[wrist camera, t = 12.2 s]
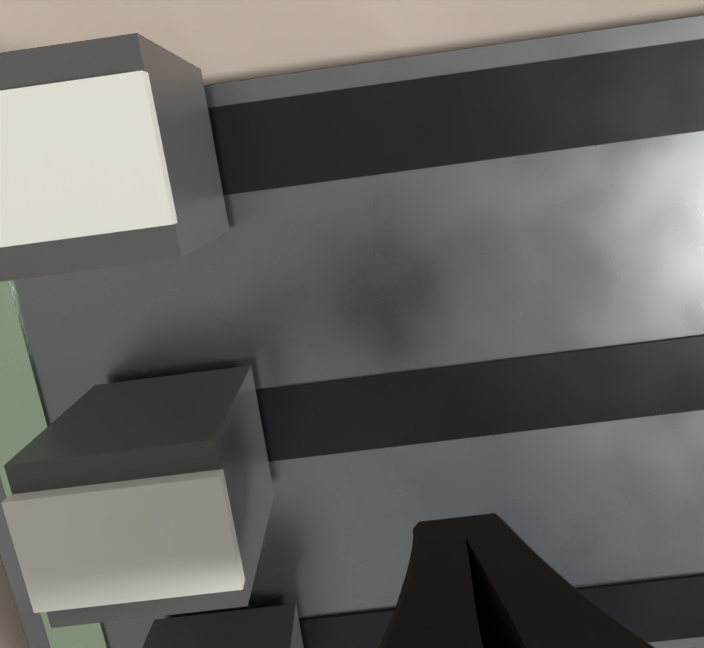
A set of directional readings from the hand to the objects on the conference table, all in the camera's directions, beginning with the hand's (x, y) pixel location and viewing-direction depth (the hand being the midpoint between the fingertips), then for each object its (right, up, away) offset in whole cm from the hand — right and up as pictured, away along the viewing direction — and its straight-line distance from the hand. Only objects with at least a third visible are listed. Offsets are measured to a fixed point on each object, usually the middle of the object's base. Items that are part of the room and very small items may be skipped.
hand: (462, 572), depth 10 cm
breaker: (-7, +8, +5) cm, 12 cm away
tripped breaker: (-6, +1, +7) cm, 9 cm away
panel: (0, +2, +8) cm, 8 cm away
